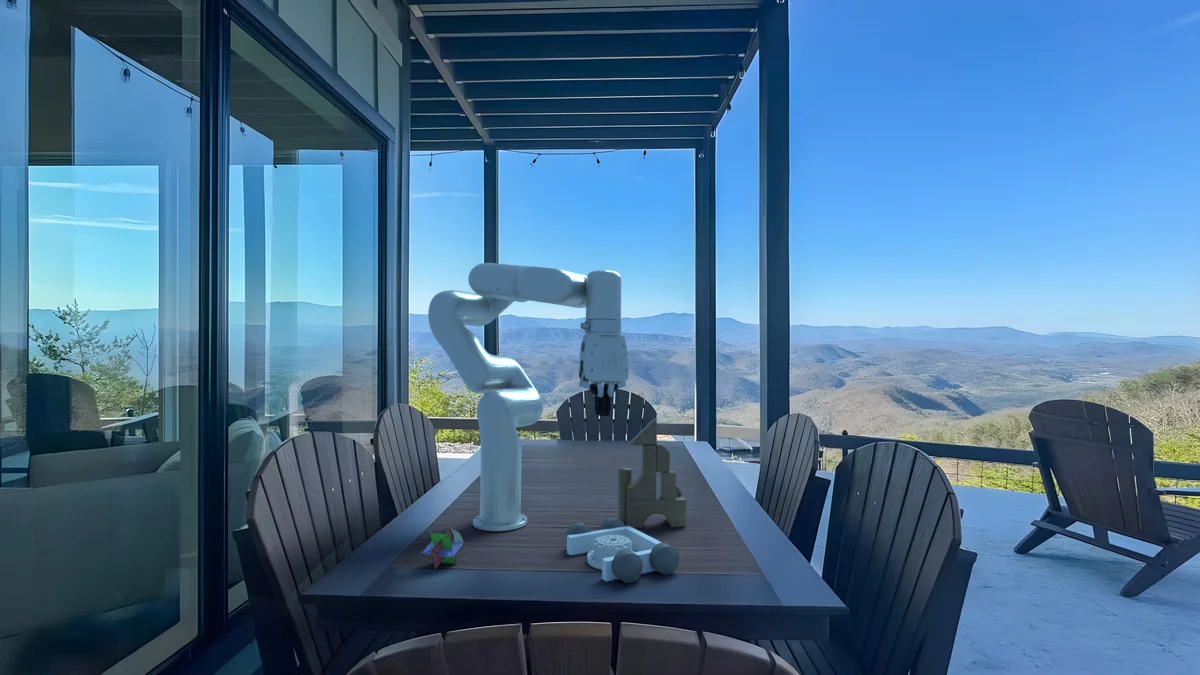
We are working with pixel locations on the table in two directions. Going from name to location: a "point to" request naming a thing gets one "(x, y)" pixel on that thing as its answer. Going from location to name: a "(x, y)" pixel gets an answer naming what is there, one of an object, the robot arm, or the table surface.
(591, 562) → the mechanical component
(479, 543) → the table surface
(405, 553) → the table surface
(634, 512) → the wooden toy
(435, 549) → the geometric puzzle
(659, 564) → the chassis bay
